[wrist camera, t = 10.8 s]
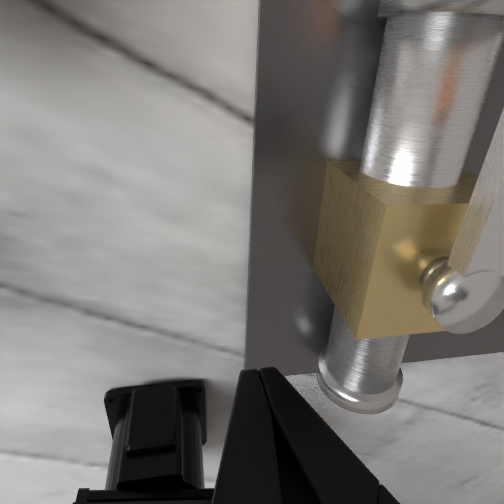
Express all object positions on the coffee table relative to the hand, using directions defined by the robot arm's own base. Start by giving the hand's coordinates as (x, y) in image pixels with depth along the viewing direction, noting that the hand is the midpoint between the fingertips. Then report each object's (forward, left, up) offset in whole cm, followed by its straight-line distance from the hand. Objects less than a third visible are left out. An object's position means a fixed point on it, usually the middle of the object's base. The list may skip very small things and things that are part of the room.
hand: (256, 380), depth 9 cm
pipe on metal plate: (-1, -13, -12) cm, 18 cm away
